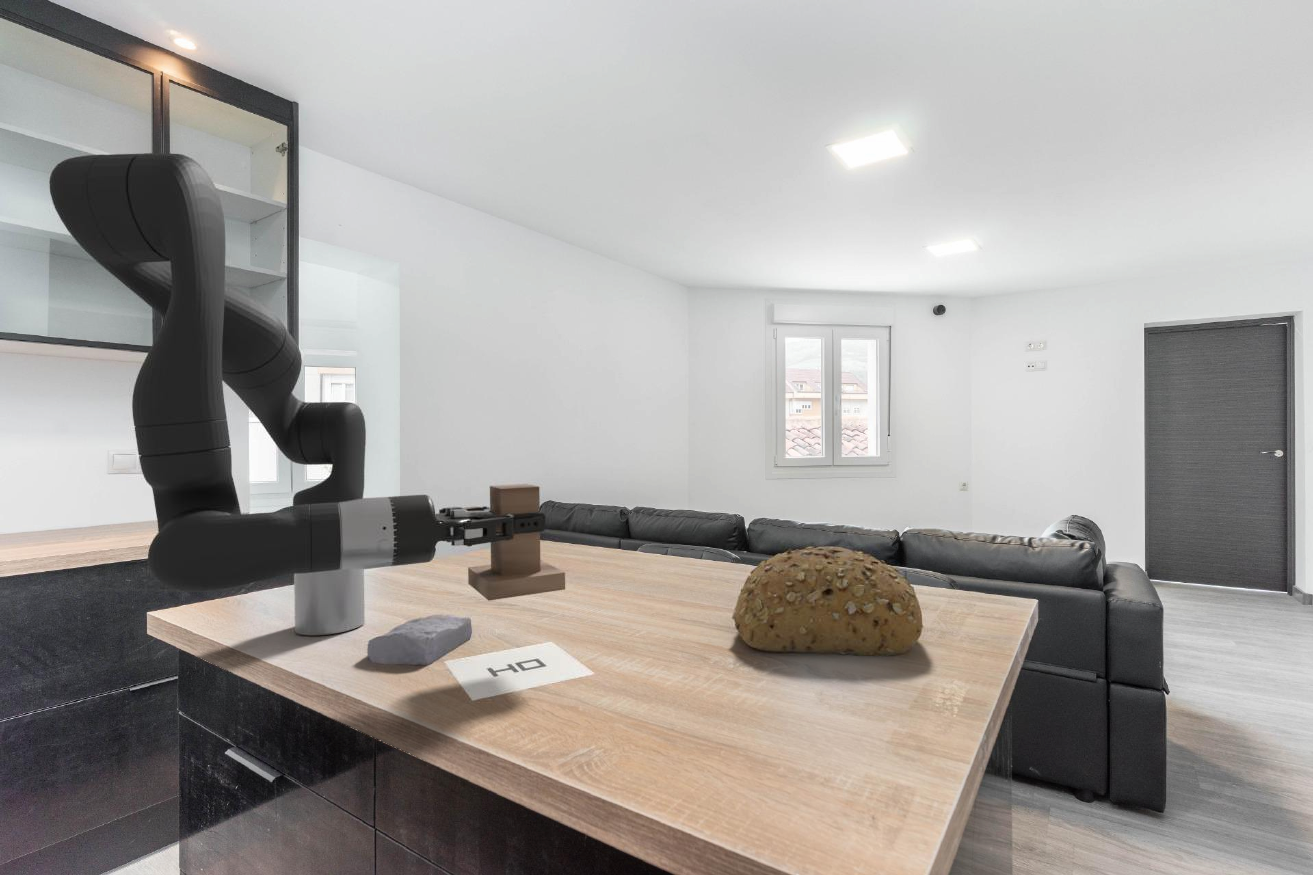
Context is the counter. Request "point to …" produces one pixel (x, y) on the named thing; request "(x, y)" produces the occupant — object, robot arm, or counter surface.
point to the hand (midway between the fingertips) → (536, 518)
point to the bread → (828, 604)
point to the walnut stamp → (515, 552)
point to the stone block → (420, 640)
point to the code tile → (515, 670)
